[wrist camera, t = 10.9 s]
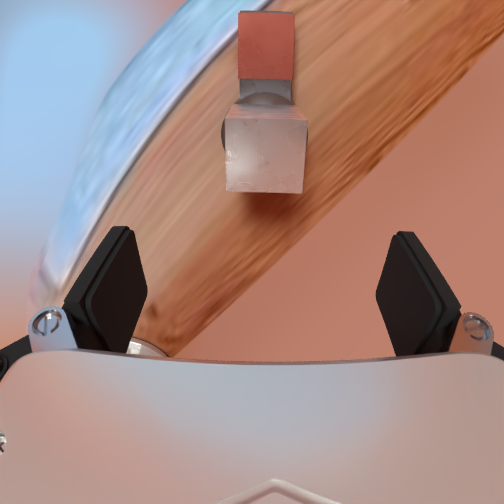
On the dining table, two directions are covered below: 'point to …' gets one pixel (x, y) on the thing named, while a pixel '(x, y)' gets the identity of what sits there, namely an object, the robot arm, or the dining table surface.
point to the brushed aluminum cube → (265, 148)
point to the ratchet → (265, 58)
